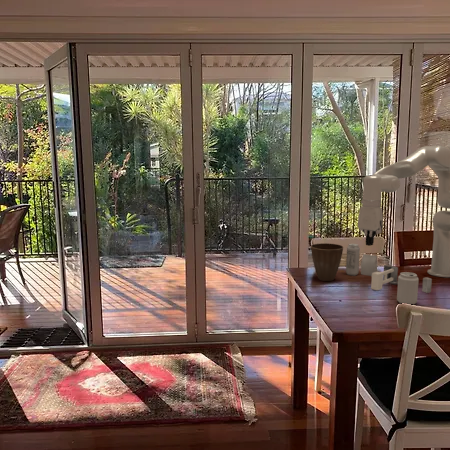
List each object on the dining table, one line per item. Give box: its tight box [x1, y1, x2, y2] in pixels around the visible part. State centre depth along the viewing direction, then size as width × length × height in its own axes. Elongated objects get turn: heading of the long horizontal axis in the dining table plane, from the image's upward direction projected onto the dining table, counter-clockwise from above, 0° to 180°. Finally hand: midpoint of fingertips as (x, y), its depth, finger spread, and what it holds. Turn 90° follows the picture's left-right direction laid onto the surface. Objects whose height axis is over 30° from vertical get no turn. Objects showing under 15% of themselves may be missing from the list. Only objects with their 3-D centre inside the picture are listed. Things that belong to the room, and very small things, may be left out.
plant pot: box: [310, 242, 344, 282], centre depth 204 cm, size 15×15×16 cm
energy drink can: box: [345, 243, 361, 276], centre depth 212 cm, size 6×6×15 cm
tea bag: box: [360, 253, 378, 277], centre depth 212 cm, size 4×7×10 cm, turn 50°
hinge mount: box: [383, 264, 398, 286], centre depth 199 cm, size 4×7×8 cm, turn 25°
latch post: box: [421, 276, 433, 294], centre depth 185 cm, size 2×2×6 cm
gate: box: [370, 266, 399, 291], centre depth 193 cm, size 3×18×7 cm, turn 130°
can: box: [396, 271, 419, 306], centre depth 171 cm, size 8×8×12 cm
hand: (369, 245), depth 191 cm, fingers closed
